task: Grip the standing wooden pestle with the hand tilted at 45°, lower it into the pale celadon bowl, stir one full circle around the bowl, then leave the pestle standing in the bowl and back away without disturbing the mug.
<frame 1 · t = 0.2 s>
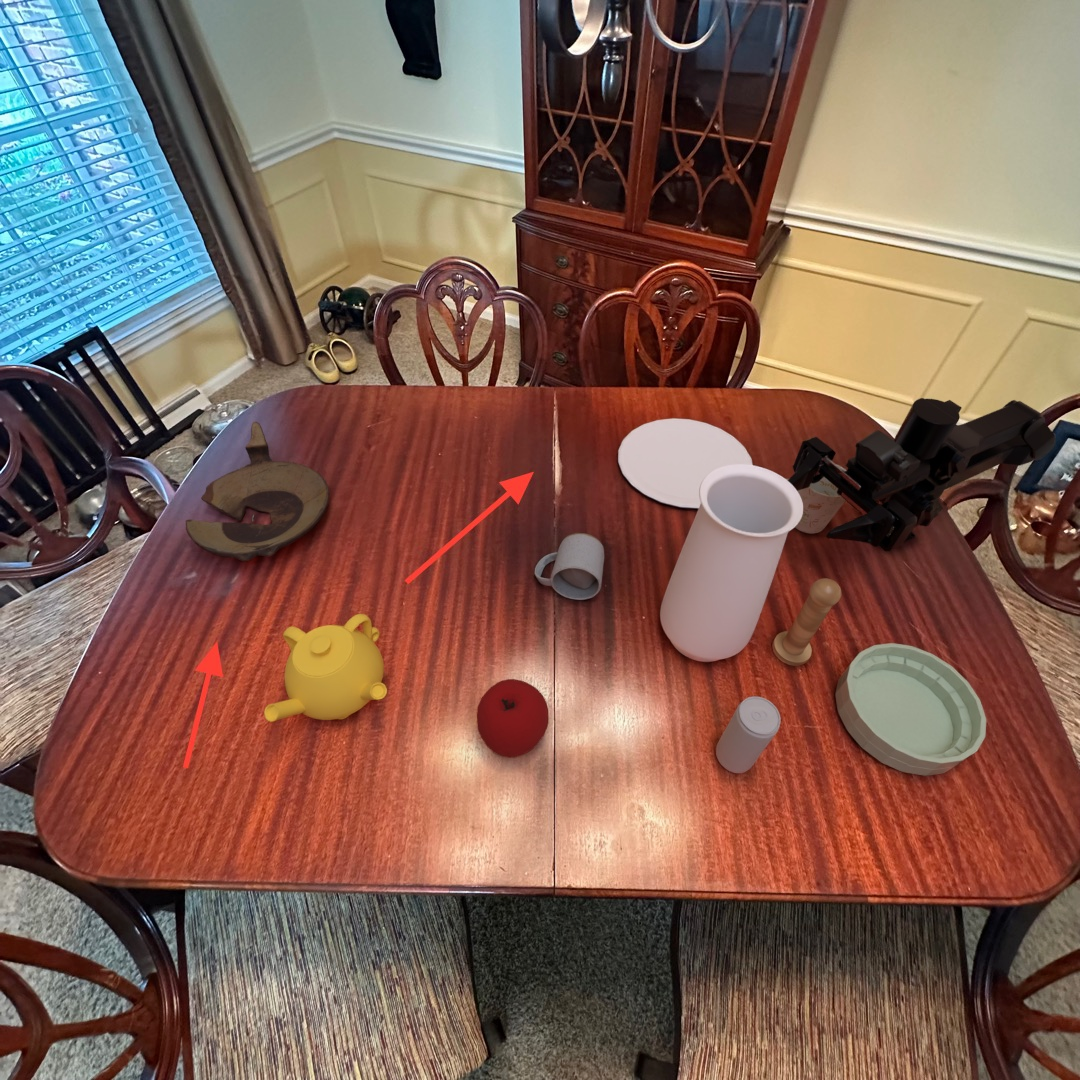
hand: (803, 512, 82), 17 cm above the table, tool horizontal, fingers open, 9 cm apart
bowl: (897, 715, 80), on the table
ceramic mug: (569, 580, 95), on the table
apple: (513, 732, 79), on the table
beverage can: (733, 756, 77), on the table
oil lamp: (275, 511, 105), on the table
vase: (700, 633, 89), on the table
wooden pestle: (790, 650, 87), on the table
mug: (793, 519, 104), on the table
teapot: (342, 694, 82), on the table
plate: (683, 464, 113), on the table
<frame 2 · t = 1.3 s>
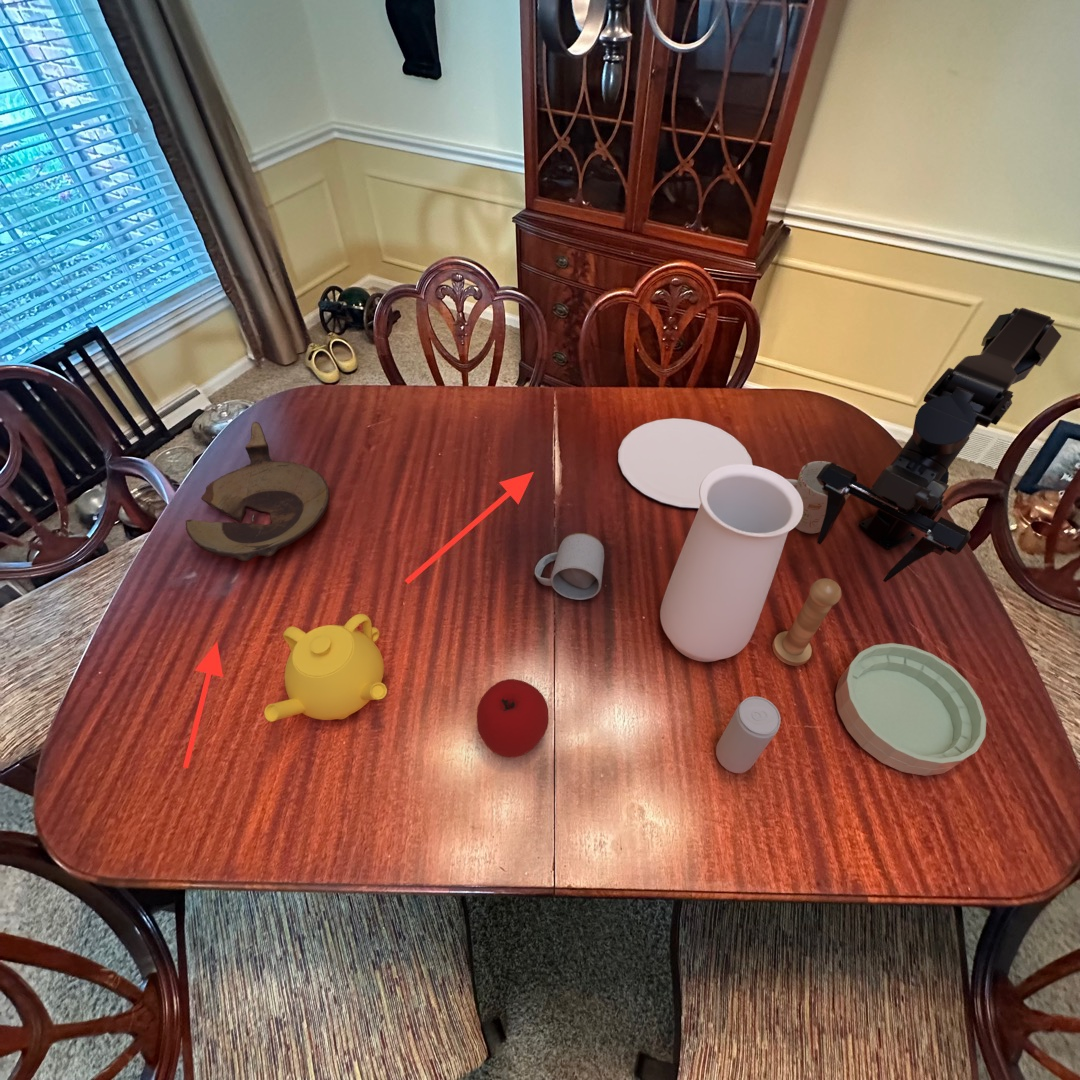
hand: (850, 562, 80), 13 cm above the table, tool tilted 45°, fingers open, 9 cm apart
nothing on the table moved.
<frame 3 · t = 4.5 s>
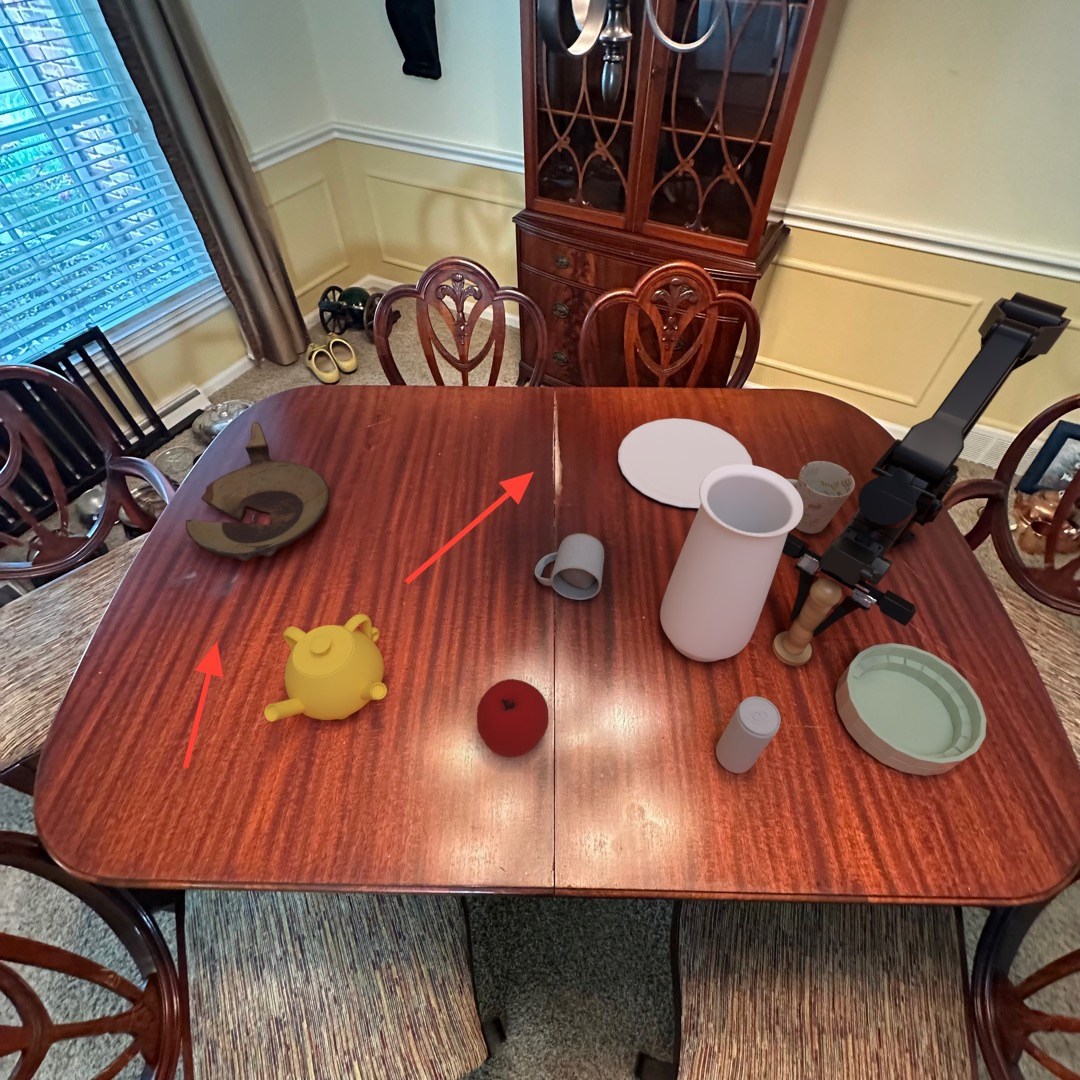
hand: (802, 629, 81), 7 cm above the table, tool tilted 45°, fingers closed on wooden pestle, 3 cm apart
wooden pestle: (790, 650, 87), on the table, touching gripper
everything else where it was.
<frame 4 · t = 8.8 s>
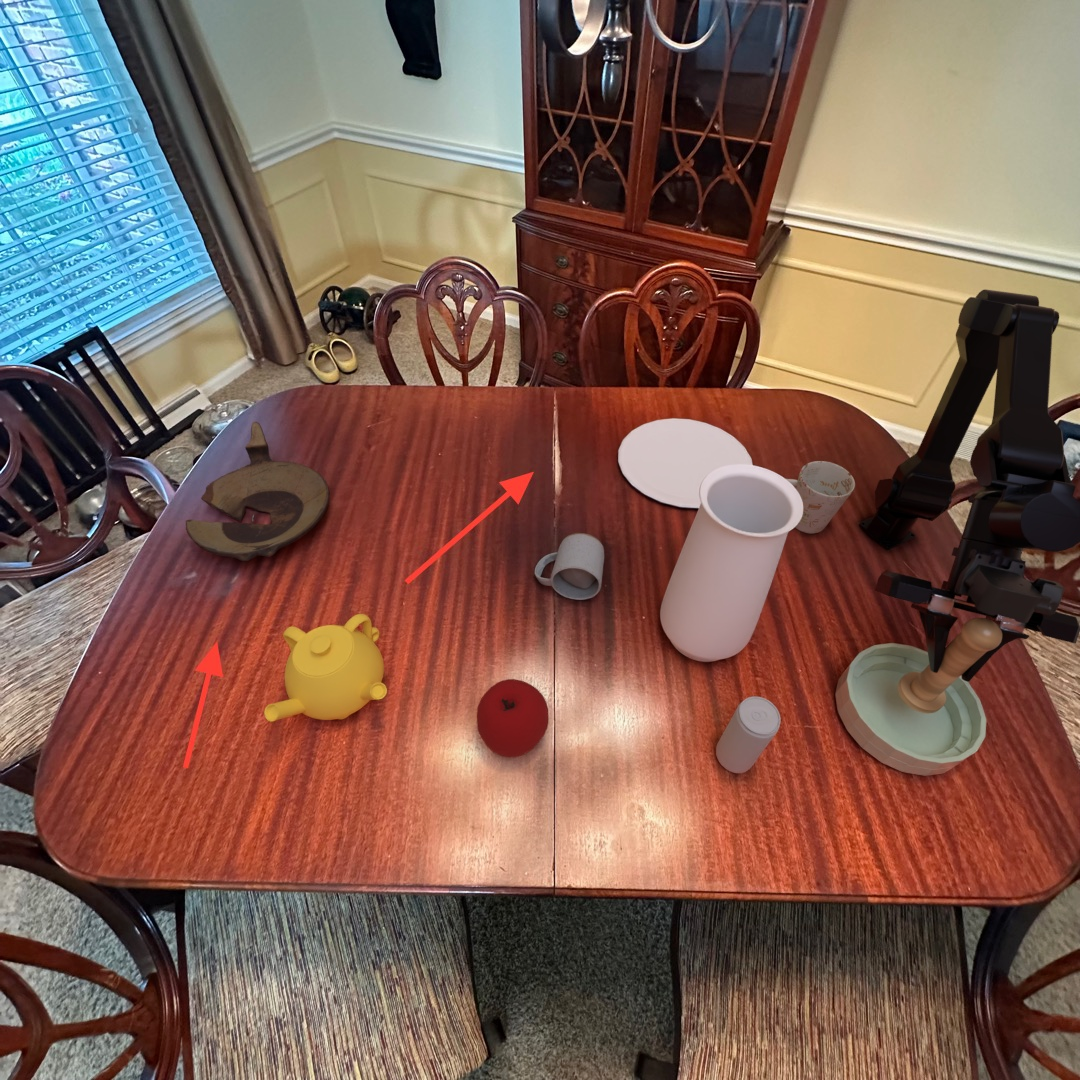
hand: (949, 676, 69), 13 cm above the table, tool tilted 45°, fingers closed on wooden pestle, 3 cm apart
wooden pestle: (919, 694, 75), point 6 cm above the table, touching gripper
everything else where it was.
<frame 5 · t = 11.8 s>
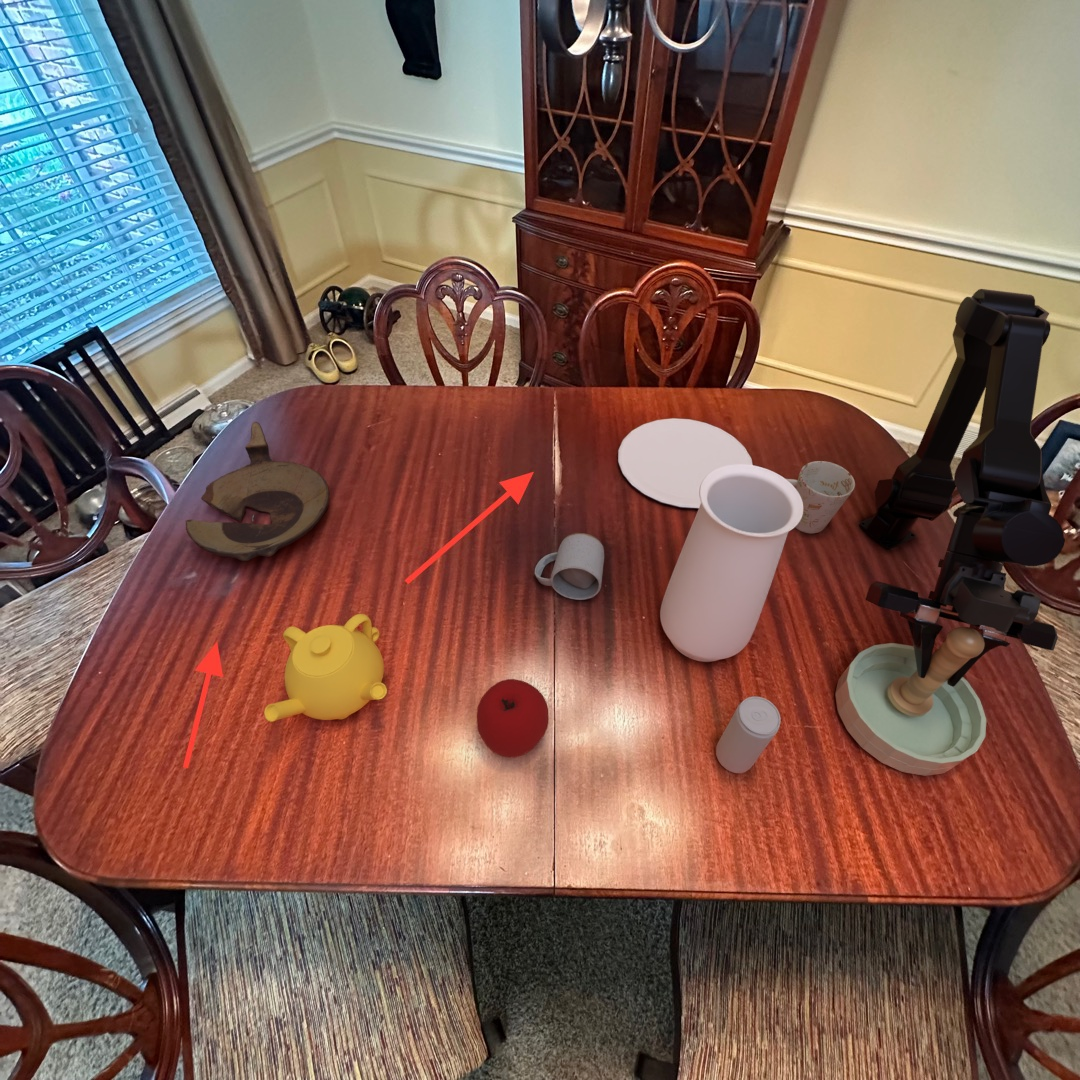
hand: (935, 681, 73), 9 cm above the table, tool tilted 45°, fingers closed on wooden pestle, 3 cm apart
wooden pestle: (908, 698, 79), point 2 cm above the table, touching gripper
everything else where it was.
when the fingers open (8 cm above the table, at t = 13.6 s): wooden pestle stays where it is, resting on bowl.
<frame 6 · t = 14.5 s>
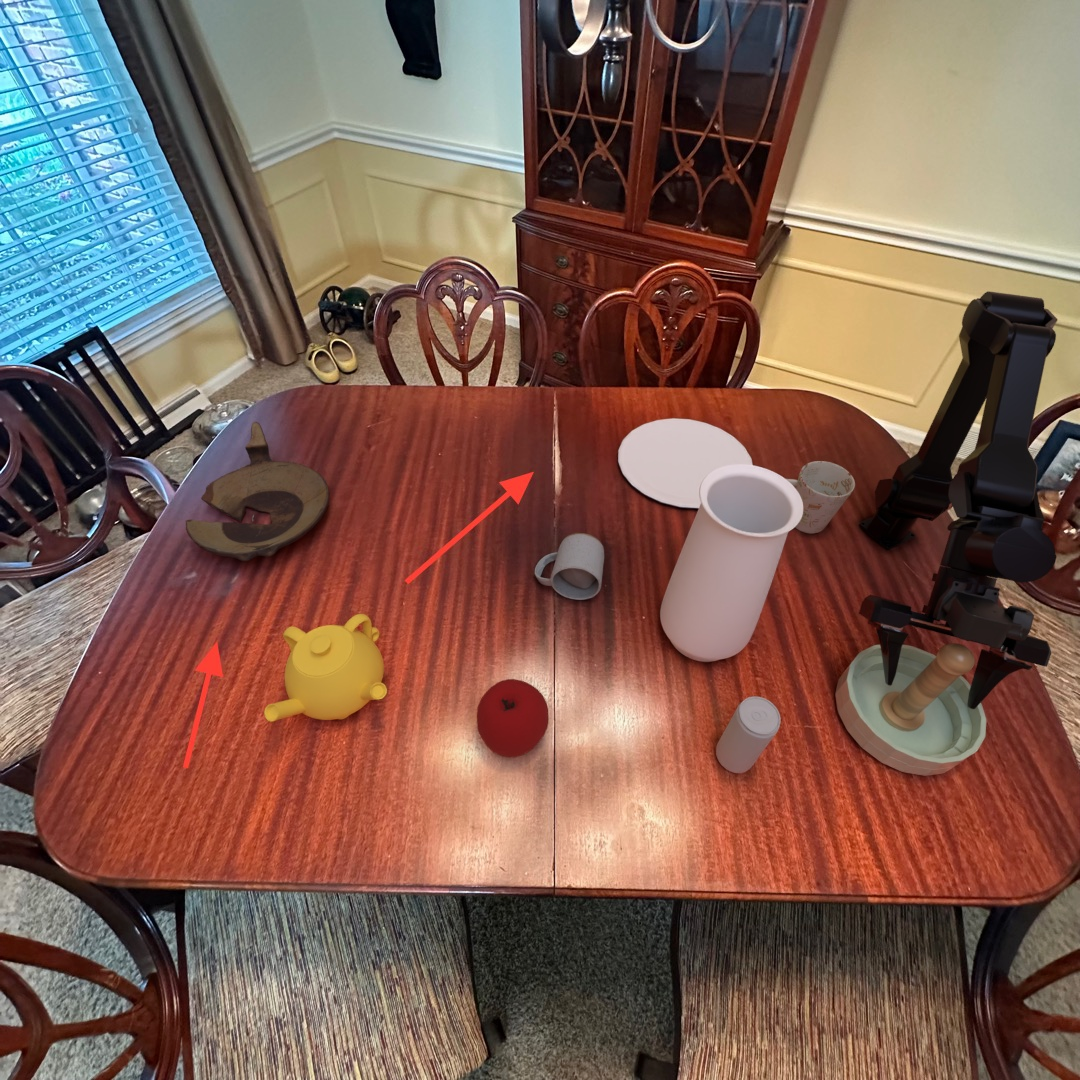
hand: (928, 696, 73), 8 cm above the table, tool tilted 45°, fingers open, 9 cm apart
wooden pestle: (900, 712, 79), point 1 cm above the table, touching bowl
everything else where it was.
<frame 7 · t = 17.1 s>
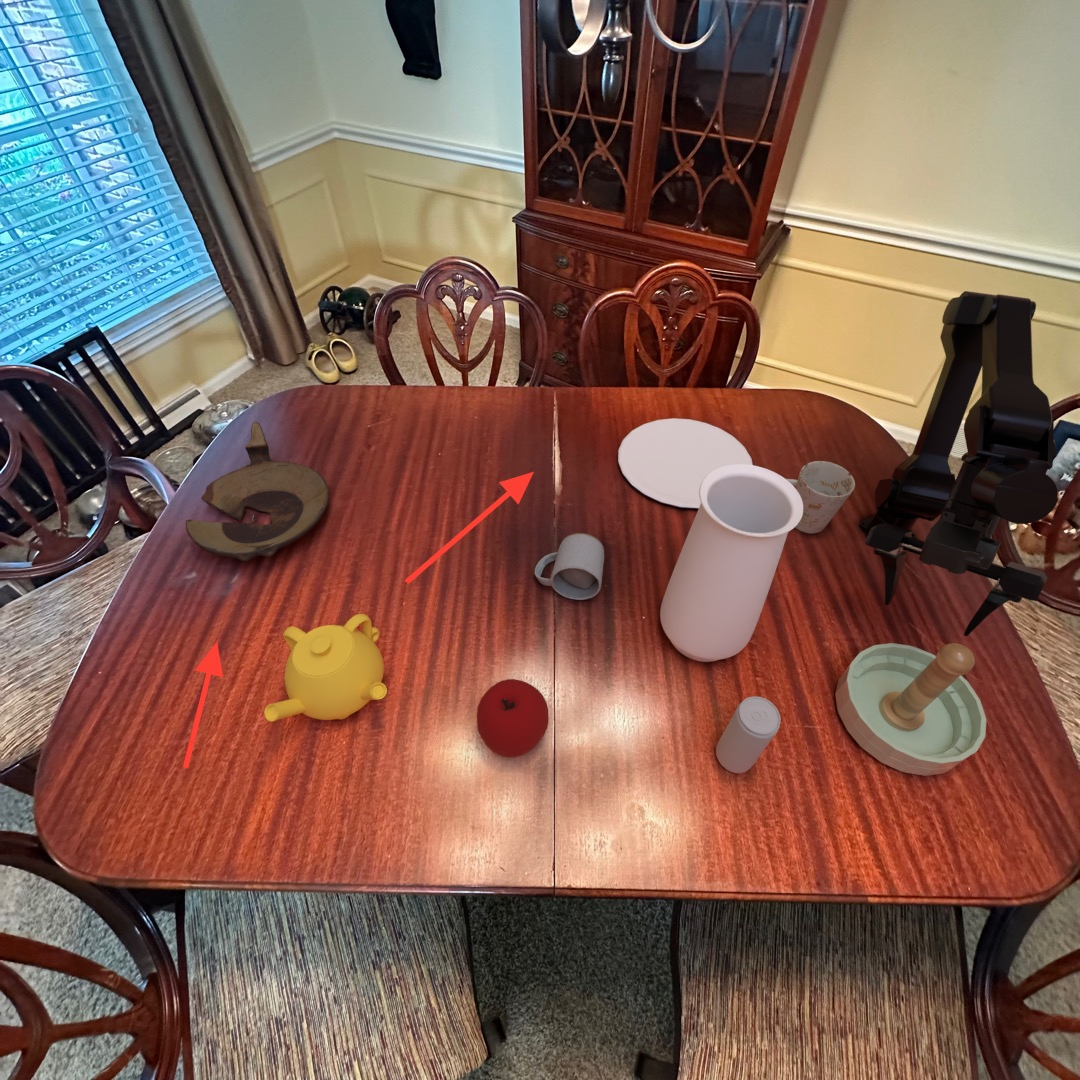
hand: (924, 619, 78), 10 cm above the table, tool tilted 35°, fingers open, 9 cm apart
nothing on the table moved.
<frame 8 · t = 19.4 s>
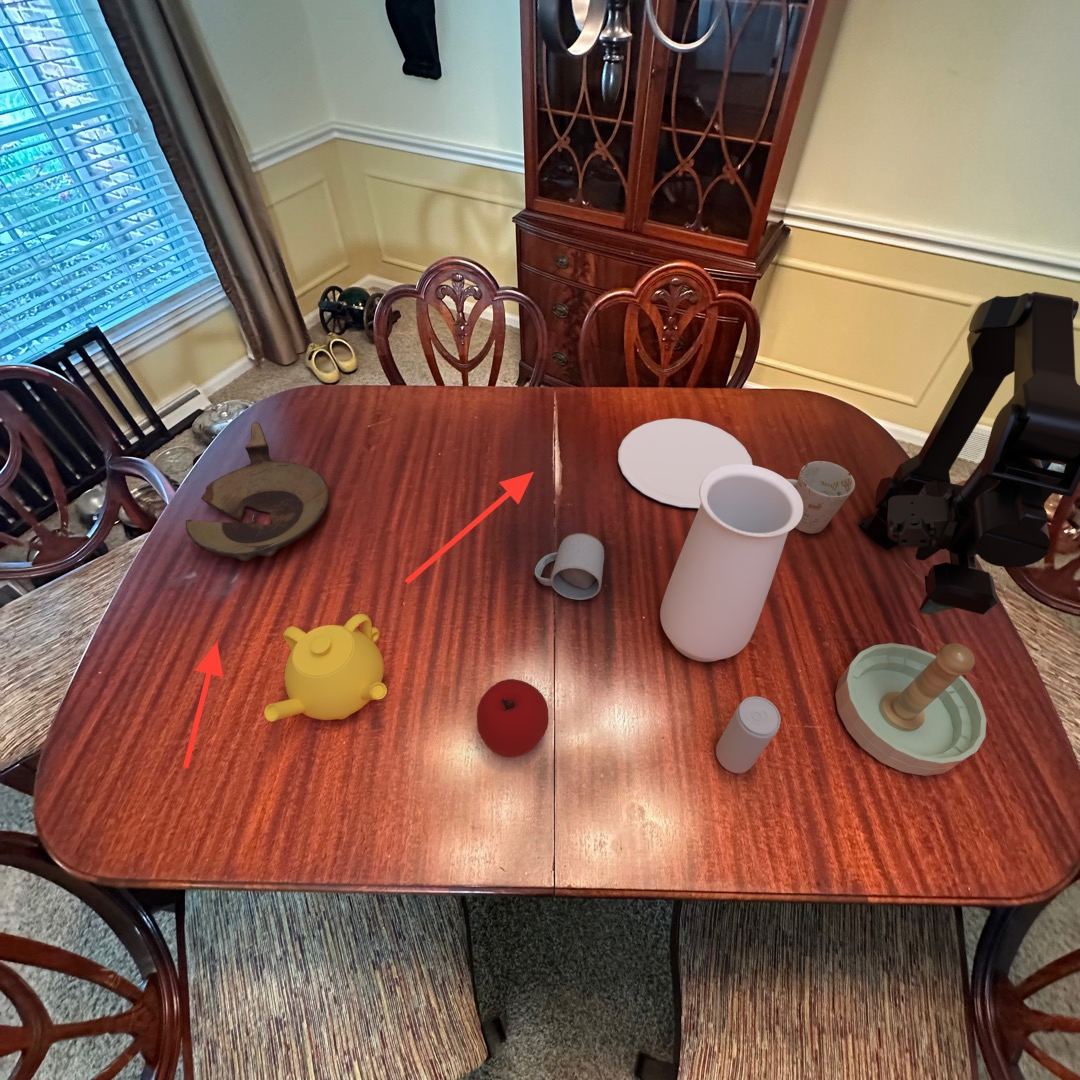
hand: (921, 584, 78), 13 cm above the table, tool pointing down, fingers open, 9 cm apart
nothing on the table moved.
at the end: wooden pestle 0.1 cm off-centre in the bowl, point 0.8 cm above the bowl's base; wooden pestle tilted 0°; mug moved 0.2 cm from its start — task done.
